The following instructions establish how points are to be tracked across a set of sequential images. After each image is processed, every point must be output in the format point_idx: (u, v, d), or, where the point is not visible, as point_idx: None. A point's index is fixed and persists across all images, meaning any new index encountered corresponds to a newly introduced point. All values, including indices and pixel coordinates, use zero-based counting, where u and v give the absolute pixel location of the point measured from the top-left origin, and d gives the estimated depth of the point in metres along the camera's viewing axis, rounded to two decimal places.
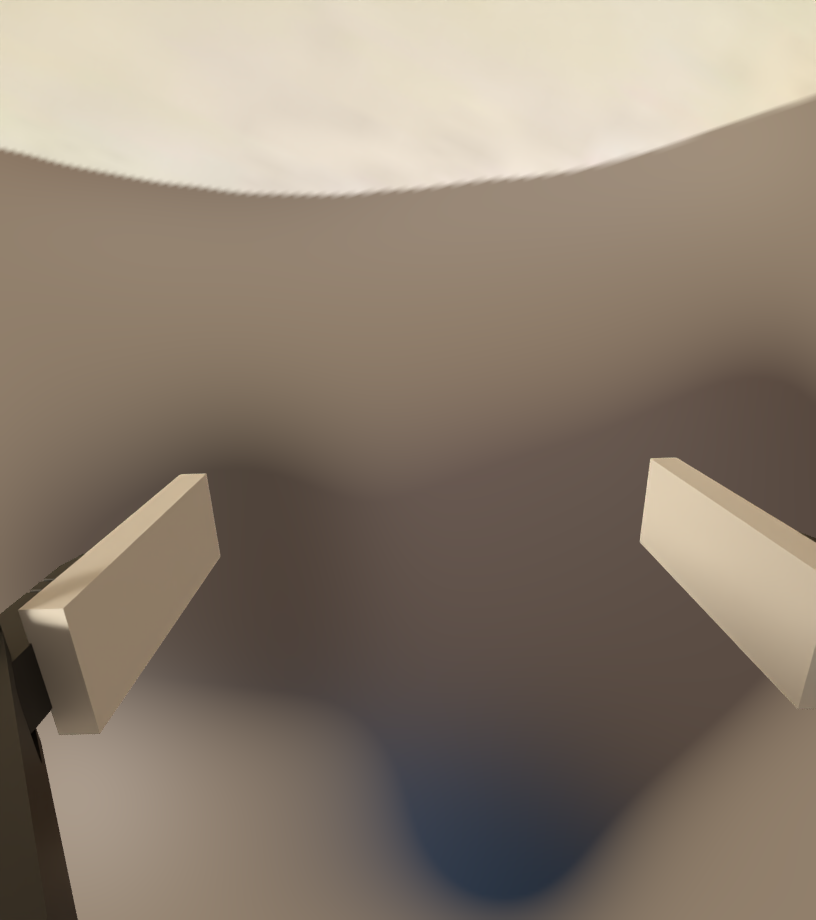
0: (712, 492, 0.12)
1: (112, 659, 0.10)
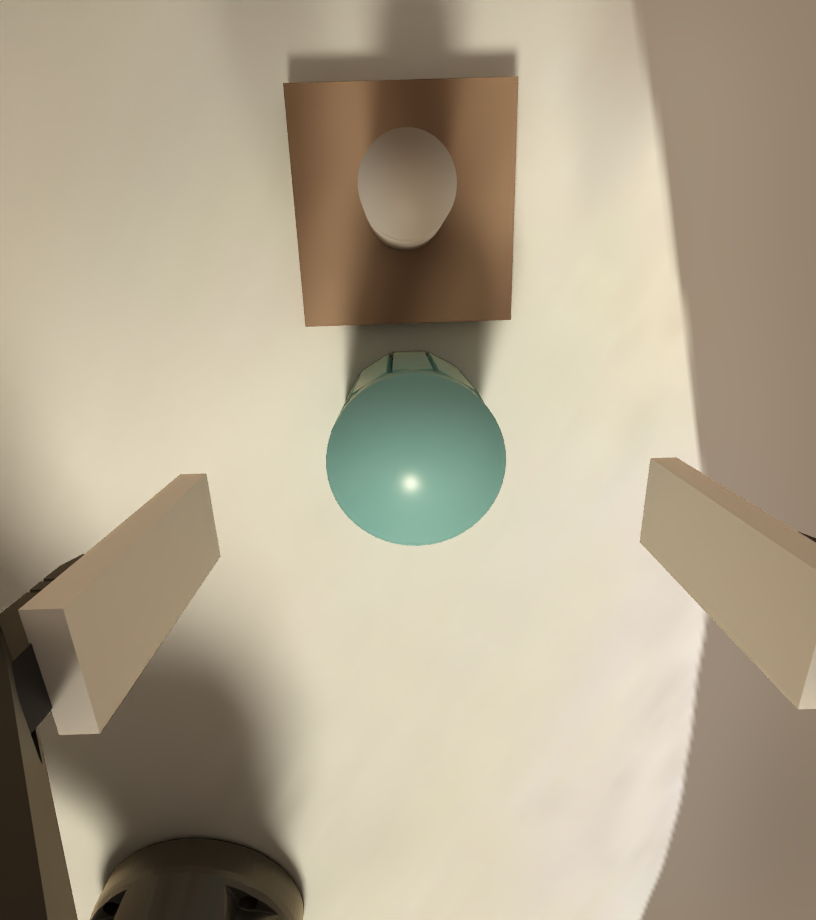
0: (712, 492, 0.12)
1: (112, 659, 0.10)
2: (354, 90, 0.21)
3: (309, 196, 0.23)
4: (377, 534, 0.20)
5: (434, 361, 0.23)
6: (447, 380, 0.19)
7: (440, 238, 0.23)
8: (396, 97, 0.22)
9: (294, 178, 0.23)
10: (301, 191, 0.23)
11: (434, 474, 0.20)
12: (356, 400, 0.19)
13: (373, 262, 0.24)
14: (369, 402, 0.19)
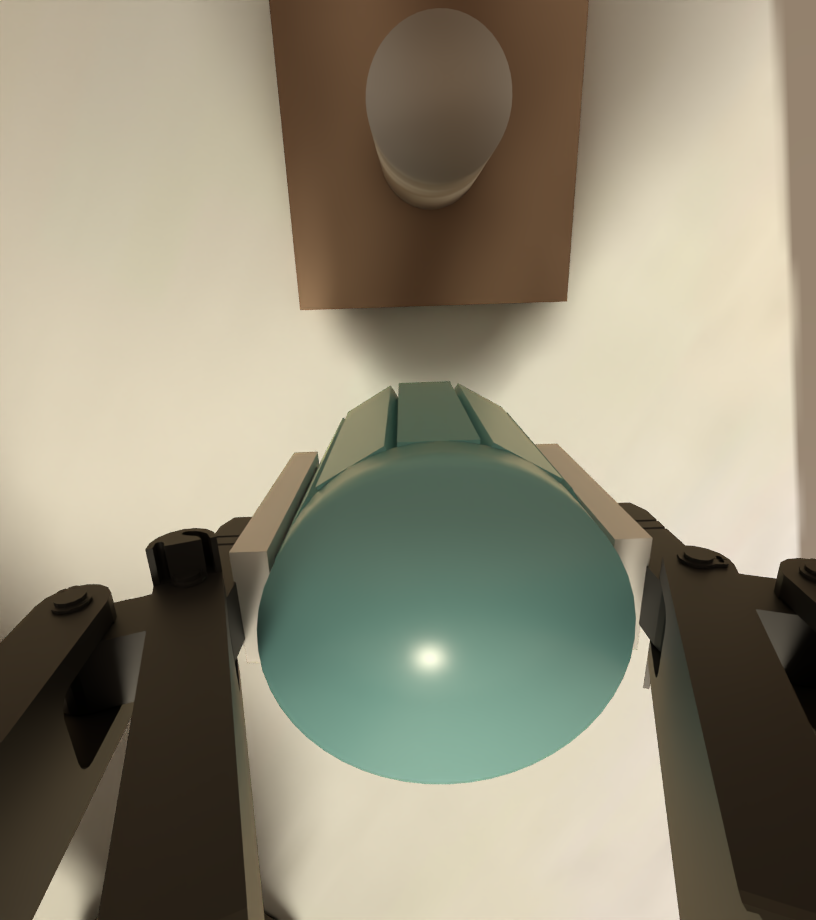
0: (567, 472, 0.14)
1: None
2: None
3: (303, 134, 0.17)
4: (366, 766, 0.10)
5: (474, 410, 0.12)
6: (520, 478, 0.08)
7: (477, 192, 0.18)
8: None
9: (283, 110, 0.17)
10: (293, 128, 0.17)
11: (483, 662, 0.09)
12: (317, 519, 0.09)
13: (388, 225, 0.18)
14: (346, 523, 0.09)
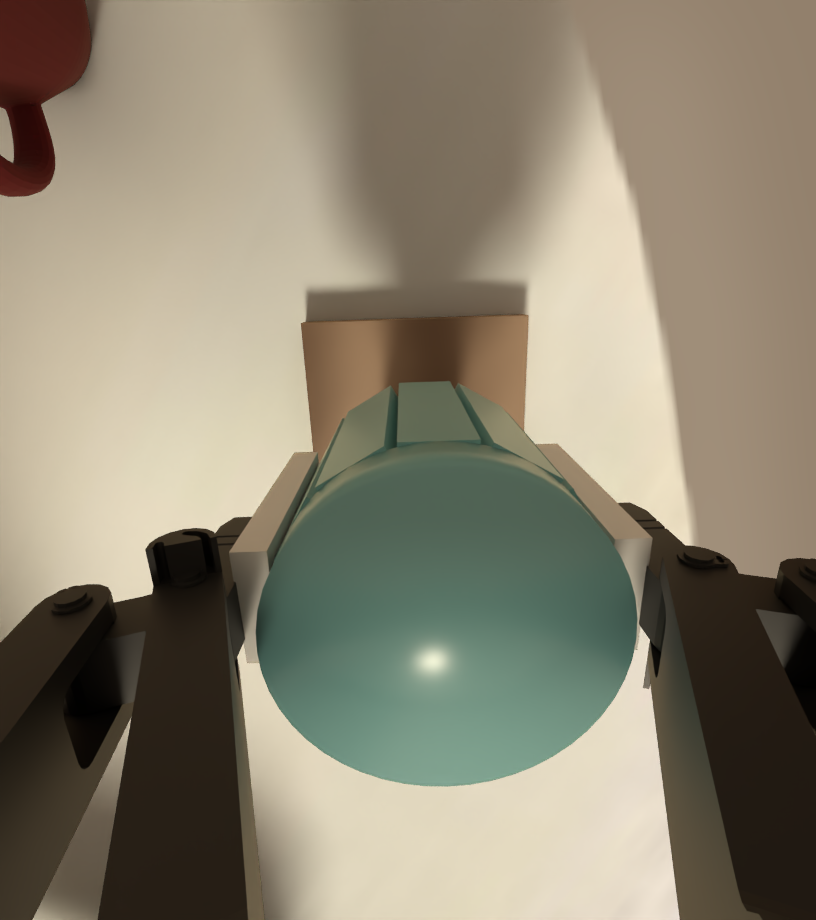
0: (567, 472, 0.14)
1: None
2: (369, 328, 0.22)
3: (325, 418, 0.23)
4: (365, 768, 0.10)
5: (474, 410, 0.12)
6: (520, 478, 0.08)
7: None
8: (410, 334, 0.22)
9: (311, 403, 0.23)
10: (317, 414, 0.23)
11: (483, 663, 0.09)
12: (317, 520, 0.08)
13: None
14: (345, 524, 0.08)
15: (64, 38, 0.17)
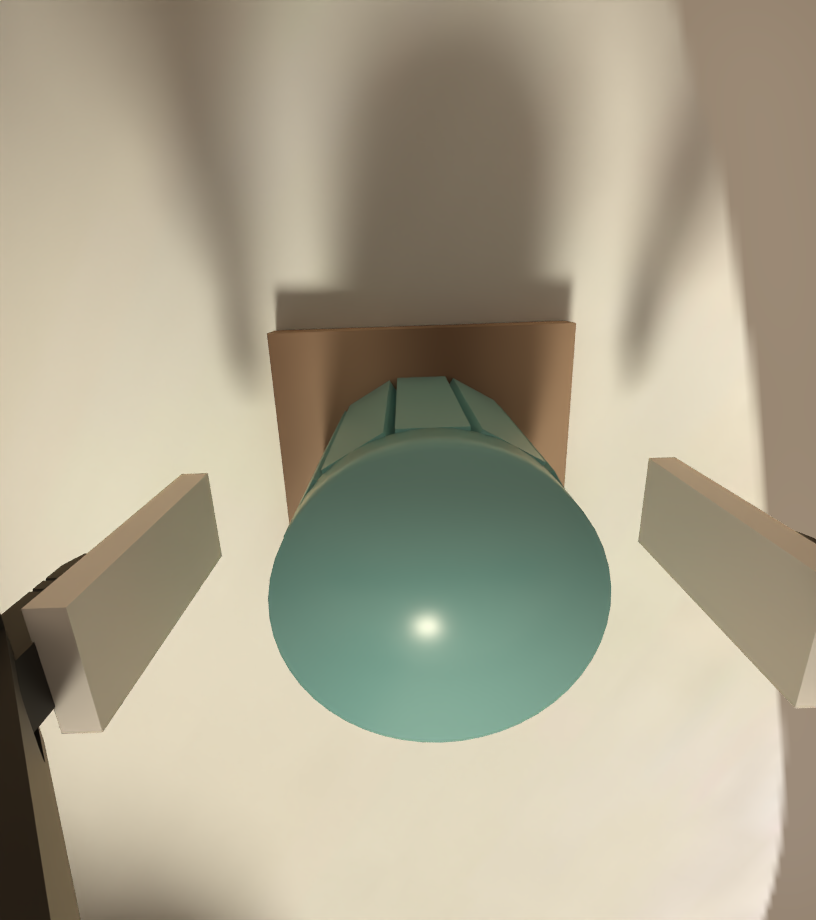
0: (710, 492, 0.12)
1: (114, 658, 0.10)
2: (360, 341, 0.16)
3: (302, 459, 0.18)
4: (367, 725, 0.11)
5: (467, 401, 0.13)
6: (504, 459, 0.09)
7: None
8: (415, 348, 0.16)
9: (282, 439, 0.17)
10: (292, 454, 0.18)
11: (473, 627, 0.10)
12: (323, 496, 0.10)
13: None
14: (349, 500, 0.10)
15: None
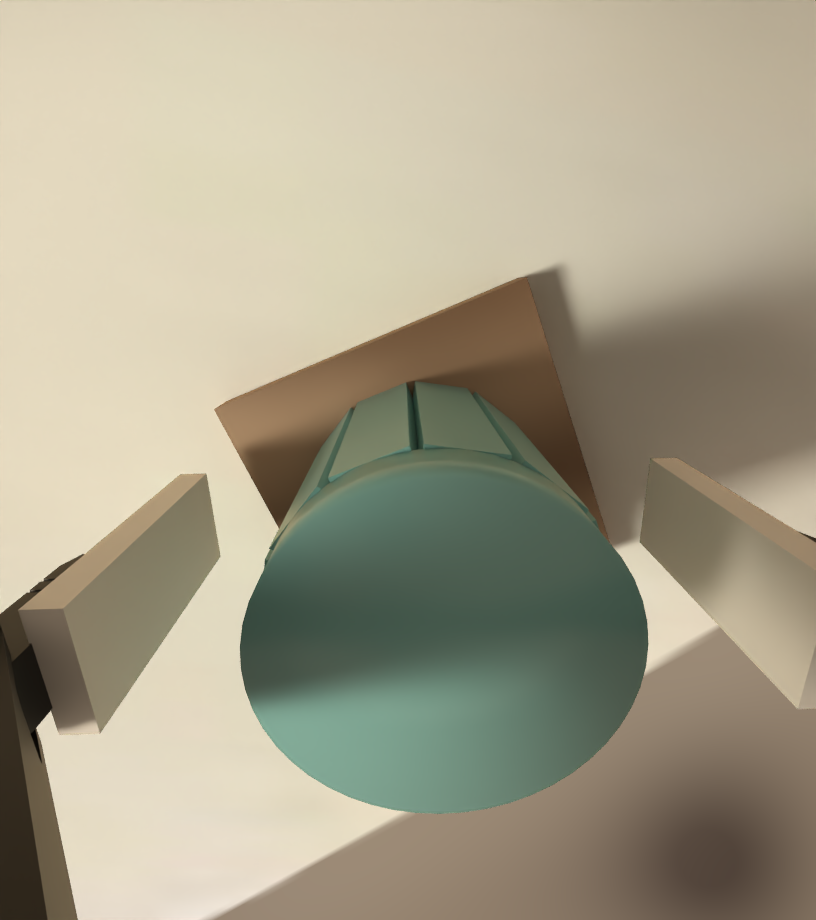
0: (712, 492, 0.12)
1: (112, 659, 0.10)
2: (546, 380, 0.15)
3: (395, 360, 0.15)
4: (247, 648, 0.09)
5: None
6: (644, 660, 0.09)
7: None
8: (554, 435, 0.16)
9: (410, 330, 0.15)
10: (397, 346, 0.15)
11: (435, 704, 0.09)
12: (552, 507, 0.08)
13: None
14: (556, 535, 0.08)
15: None
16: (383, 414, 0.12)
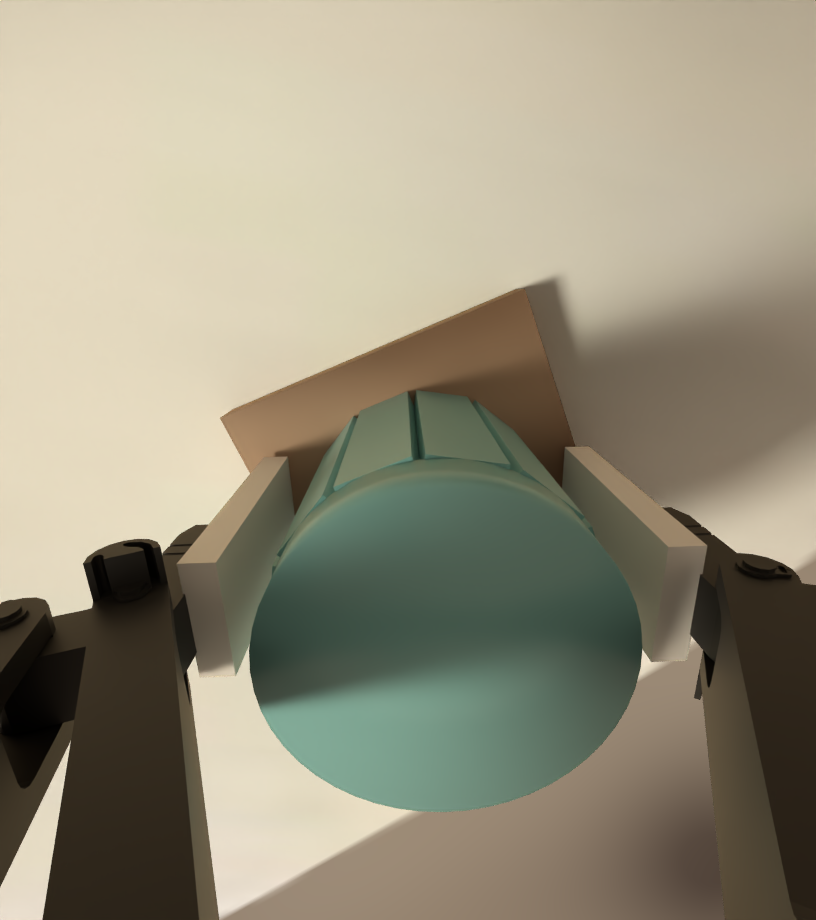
0: (605, 475, 0.13)
1: (240, 612, 0.11)
2: (545, 388, 0.16)
3: (396, 369, 0.15)
4: (256, 651, 0.09)
5: None
6: (638, 662, 0.09)
7: None
8: (552, 442, 0.16)
9: (411, 340, 0.15)
10: (398, 356, 0.15)
11: (437, 705, 0.09)
12: (549, 515, 0.08)
13: None
14: (552, 542, 0.08)
15: None
16: (385, 423, 0.13)
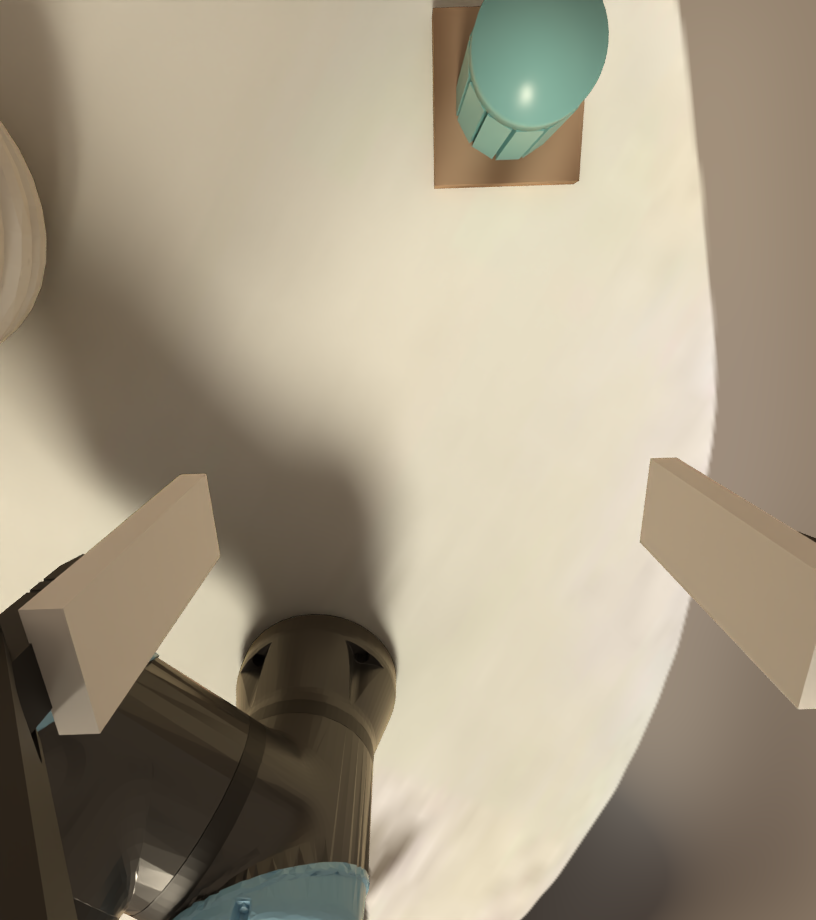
0: (712, 492, 0.12)
1: (112, 659, 0.10)
2: None
3: (445, 88, 0.33)
4: (506, 111, 0.27)
5: None
6: None
7: None
8: None
9: (435, 75, 0.33)
10: (439, 85, 0.33)
11: (553, 53, 0.26)
12: None
13: None
14: None
15: None
16: (461, 79, 0.30)
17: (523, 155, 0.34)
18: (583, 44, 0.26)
